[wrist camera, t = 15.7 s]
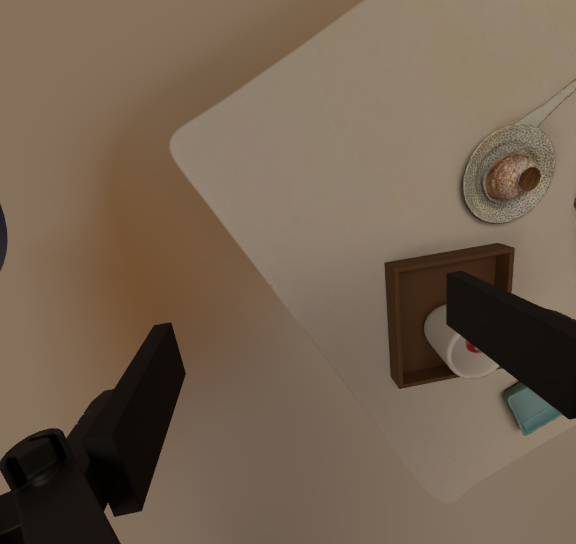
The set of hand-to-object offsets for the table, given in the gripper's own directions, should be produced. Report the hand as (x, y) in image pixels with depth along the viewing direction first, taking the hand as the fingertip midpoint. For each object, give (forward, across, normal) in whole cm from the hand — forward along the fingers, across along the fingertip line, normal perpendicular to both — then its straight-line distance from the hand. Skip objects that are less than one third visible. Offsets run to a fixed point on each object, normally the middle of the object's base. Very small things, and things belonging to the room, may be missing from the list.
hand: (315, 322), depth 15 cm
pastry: (+27, +30, +2) cm, 40 cm away
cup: (+26, +22, -16) cm, 38 cm away
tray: (+27, +22, -16) cm, 38 cm away
